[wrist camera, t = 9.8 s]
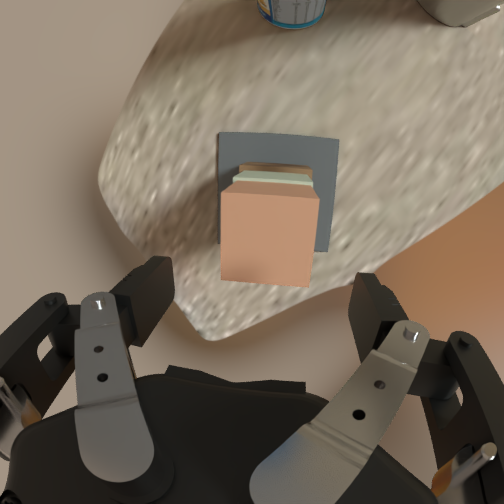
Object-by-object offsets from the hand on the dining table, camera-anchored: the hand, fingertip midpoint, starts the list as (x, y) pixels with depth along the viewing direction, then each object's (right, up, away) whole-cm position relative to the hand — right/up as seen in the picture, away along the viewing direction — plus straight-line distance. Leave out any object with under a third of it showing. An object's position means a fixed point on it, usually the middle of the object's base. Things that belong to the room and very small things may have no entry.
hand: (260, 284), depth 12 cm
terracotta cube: (+1, +4, +10) cm, 10 cm away
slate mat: (+3, +8, +21) cm, 23 cm away
